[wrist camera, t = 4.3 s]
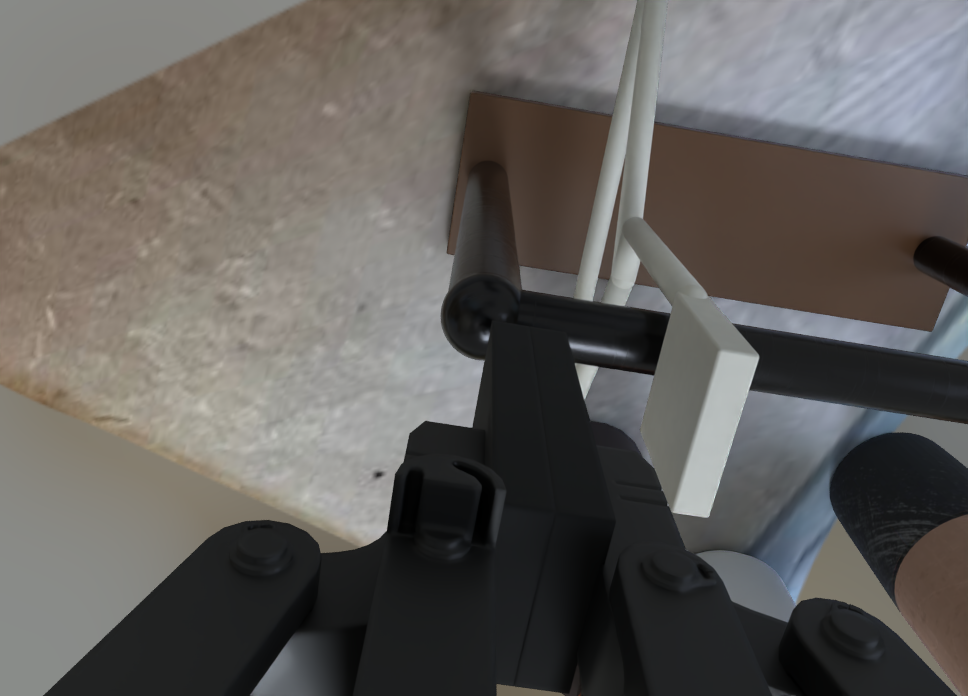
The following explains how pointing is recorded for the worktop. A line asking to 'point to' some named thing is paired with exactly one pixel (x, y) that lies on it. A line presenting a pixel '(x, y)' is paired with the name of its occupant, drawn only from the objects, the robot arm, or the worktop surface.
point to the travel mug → (913, 536)
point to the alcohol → (751, 583)
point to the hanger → (694, 317)
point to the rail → (714, 249)
